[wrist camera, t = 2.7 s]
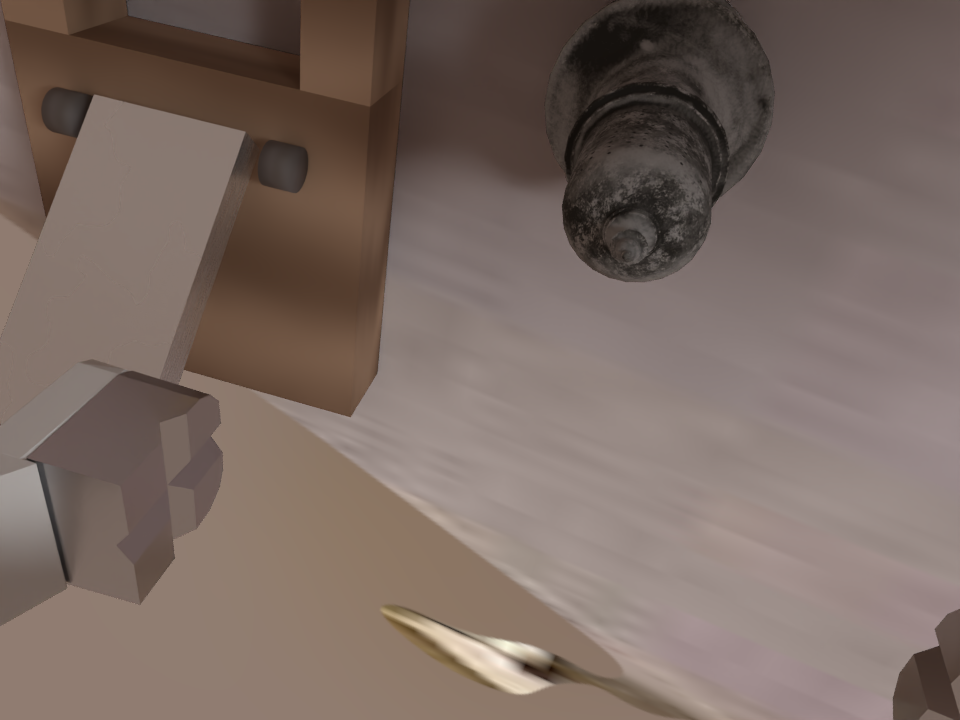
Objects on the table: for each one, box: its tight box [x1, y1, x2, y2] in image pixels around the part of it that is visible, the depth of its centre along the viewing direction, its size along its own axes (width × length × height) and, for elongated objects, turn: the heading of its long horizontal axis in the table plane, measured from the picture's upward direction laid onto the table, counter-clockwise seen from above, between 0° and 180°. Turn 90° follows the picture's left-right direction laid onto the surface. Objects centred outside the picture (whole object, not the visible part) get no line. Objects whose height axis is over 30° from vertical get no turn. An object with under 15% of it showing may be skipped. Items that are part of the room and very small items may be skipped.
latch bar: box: [0, 94, 260, 426], centre depth 23 cm, size 12×5×1 cm
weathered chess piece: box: [545, 0, 775, 282], centre depth 18 cm, size 6×6×12 cm
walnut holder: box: [1, 0, 410, 417], centre depth 24 cm, size 22×12×4 cm, turn 171°
